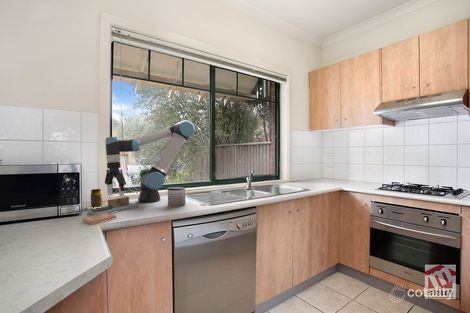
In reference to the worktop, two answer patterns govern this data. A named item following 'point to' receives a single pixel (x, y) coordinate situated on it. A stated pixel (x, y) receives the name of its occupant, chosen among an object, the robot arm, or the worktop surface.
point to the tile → (98, 218)
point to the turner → (113, 204)
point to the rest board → (114, 209)
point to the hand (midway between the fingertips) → (115, 195)
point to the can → (176, 196)
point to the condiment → (96, 198)
